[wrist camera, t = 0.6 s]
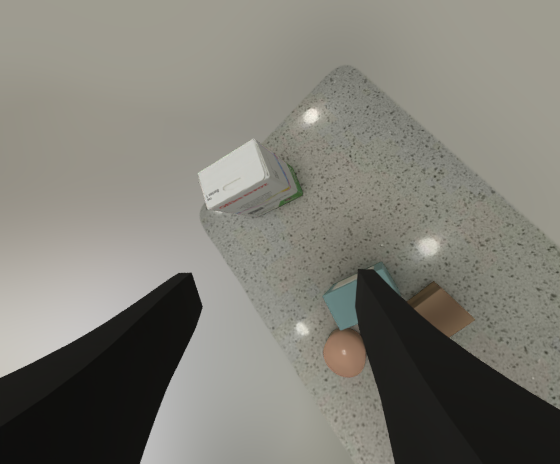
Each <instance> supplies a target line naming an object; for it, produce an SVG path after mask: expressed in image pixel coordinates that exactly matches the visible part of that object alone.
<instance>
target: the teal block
mask: <svg viewBox="0 0 560 464" xmlns="http://www.w3.org/2000/svg"><path fill="white" fill-rule="evenodd" d="M367 269H374V270H375V271H376V272H377V273H378V274H379V275H380V276H381V277H382V278H383V279H384V280H385V281H386V282H387V283H388V284H389V285H390V286H391V287H392V288H393V289H394V290H395V291H396V292H397V293H398V294H399V295H400V292H399V290H398V288H397V286H396V284H395V283H394V281H393V279H392V278H391V276H390V274H389V273H388V271H387V269H386V268H385V266H384V264H383V263H382V262H380V263H378V264H376V265H373V266H371V267H369V268H367ZM356 286H357V273H356V274H354V275H352V276H350V277H348V278H346V279H344V280H342V281H339V282H337V283H335V284H333V286H332V287H331V288H330V289H329V290H328V291H327V292H326V293H325V294H324V295H323V298H324V300H325V302H326V304H327V306H328V308H329V310H330V312H331V314H332V316H333V317H334V319H335V321H336V323H337V325H338V327H339V329H340V331H341V330H343V329H346V328H349V327H351V326H354V325H356V324H358V320H357V315H356V310H355V299H356ZM400 296H401V295H400Z"/></svg>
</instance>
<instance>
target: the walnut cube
mask: <svg viewBox="0 0 560 464" xmlns="http://www.w3.org/2000/svg"><path fill="white" fill-rule="evenodd" d="M407 303H408V304H409V305H410V306H412V307H413V308H414V309H415V310H416V311H417V312H418V313H419V314H420V315H422V316H423V317H424V318H425V319H426V320H428V321H429V322H430V323H431V324H432V325H433V326H435V327H436V328H437V329H438V330H440V331H441V332H442V333H444V334H445V335H446V336H447V337H451V336H452V335H454V334H455V333H457V332H458V331H459V330H461V329H462V328H464V327H465V326H467V325H468V324H470V323H471V322H473V321H474V320H475V319H474V318H473V317H472V316H471V315H470V314H469V313H468V312H467V311H466V310H465V309H464V308H462V307H461V306H460V305H459V304H458V303H457V302H456V301H455V300H454V299H453V298H452V297H451V296H450V295H449V294H448V293H447V292H445V291H444V290H443V289H442V288H441V287H440V286H439V285H438V284H436V283H435V282H434V281H433V282H432V283H431V284H429V285H428V286H427V287H425V288H424V289H423V290H421V291H420V292H419V293H418V294H416V295H415V296H414V297H412V298H411V299H410V300H408V301H407Z"/></svg>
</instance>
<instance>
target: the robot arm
mask: <svg viewBox="0 0 560 464" xmlns="http://www.w3.org/2000/svg"><path fill="white" fill-rule="evenodd" d="M202 307H203V306H202V303H201V300H200V297H199V294H198V291H197V288H196V285H195V281H194V278H193V275H192V273H178V274H177V275H175V276H173V277H172V278H170V279H169V280H167V281H166V282H164V283H163V284H161V285H160V286H158V287H157V288H156V289H154V290H153V291H151V292H150V293H149V294H147V295H146V296H144V297H143V298H142V299H140V300H139V301H137V302H136V303H134V304H133V305H131V306H130V307H128V308H127V309H126V310H124V311H122V312H121V313H119V314H118V315H116V316H115V317H113V318H112V319H110V320H109V321H107V322H106V323H104V324H102V325H101V326H99V327H97V328H96V329H94V330H93V331H91V332H89V333H87V334H86V335H84V336H82V337H80V338H79V339H77V340H75V341H73V342H72V343H70V344H68V345H66V346H64V347H62V348H60V349H58V350H56V351H54V352H52V353H51V354H49V355H47V356H45V357H43V358H41V359H39V360H37V361H35V362H33V363H31V364H29V365H27V366H25V367H23V368H21V369H18V370H16V371H14V372H12V373H10V374H8V375H6V376H4V377H1V378H0V464H140V461H141V459H142V455H143V452H144V449H145V446H146V443H147V441H148V438H149V435H150V432H151V429H152V426H153V423H154V421H155V418H156V415H157V413H158V410H159V407H160V405H161V402H162V400H163V397H164V394H165V392H166V389H167V387H168V385H169V383H170V380H171V378H172V376H173V374H174V372H175V370H176V368H177V366H178V364H179V362H180V360H181V358H182V356H183V353H184V351H185V349H186V347H187V345H188V343H189V341H190V339H191V337H192V335H193V333H194V331H195V328H196V326H197V322H198V320H199V317H200V314H201V310H202ZM355 310H356V315H357V320H358V325H359V330H360V333H361V337H362V340H363V343H364V346H365V349H366V353H367V356H368V359H369V362H370V365H371V368H372V371H373V375H374V378H375V381H376V384H377V387H378V391H379V395H380V398H381V402H382V406H383V411H384V415H385V420H386V424H387V429H388V433H389V438H390V443H391V447H392V452H393V457H394V461H395V464H560V410H559V409H558V408H556V407H554V406H552V405H551V404H549V403H547V402H546V401H544V400H542V399H541V398H539V397H537V396H536V395H534V394H532V393H531V392H529V391H527V390H526V389H524V388H522V387H521V386H519V385H518V384H516V383H514V382H513V381H511V380H510V379H508V378H507V377H505V376H503V375H502V374H500V373H499V372H497V371H496V370H494V369H493V368H491V367H490V366H488V365H487V364H485V363H484V362H482V361H481V360H479V359H478V358H476V357H475V356H474V355H472V354H471V353H469V352H468V351H466V350H465V349H464V348H462V347H461V346H460V345H458V344H457V343H456V342H454V341H453V340H452V339H450V338H449V337H447V336H446V335H445V334H444V333H442V332H441V331H440V330H438V329H437V328H436V327H435V326H433V325H432V324H431V323H430V322H429V321H428V320H426V319H425V318H424V317H423V316H422V315H420V314H419V313H418V312H417V311H416V310H415V309H414V308H413V307H412V306H410V305H409V304H408V303H407V302H406V301H405V300H404V299H403V298H402V297H401V296H400V295H399V294H398V293H397V292H396V291H395V290H394V289H393V288H392V287H391V286H390V285H389V284H388V283H387V282H386V281H385V280H384V279H383V278H382V277H381V276H380V275H379V274H378V273H377V272H376V271H375V270H374V269H358V273H357V286H356V299H355Z"/></svg>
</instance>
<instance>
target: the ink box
mask: <svg viewBox="0 0 560 464" xmlns="http://www.w3.org/2000/svg"><path fill="white" fill-rule="evenodd" d="M198 179H199V182H200V185H201V189H202V192H203V196H204V198H205V202H206V206H207V209H208V210H214V211H220V212H227V213H234V214H240V215H246V216H253V217H259V216H261V215H263V214H265V213H267V212H269V211H271V210H273V209H275V208H277V207H279V206H282V205H284V204H286V203H288V202H290V201H292V200H294V199H296V198H298V197H300V196H302V195H303V192H302V190H301V187H300V185H299V182H298V180H297V177H296V175H295V172H294V170H293V168H292V167H291V166H290V165H288V164H287V163H285V162H284V161H283V160H282V159H280V158H279V157H278V156H276V155H275V154H274V153H272V152H271V151H270V150H269V149H267V148H266V147H265V146H263V145H262V144H260V143H259V142H258V141H257V140H255V139H252V140H251V141H249V142H247V143H245V144H244V145H242V146H241V147H239V148H237V149H236V150H234V151H233V152H231V153H229V154H228V155H226V156H225V157H223V158H221V159H220V160H218V161H217V162H215V163H213V164H212V165H210V166H209V167H207V168H205V169H204V170H202V171H201V172H199V173H198Z"/></svg>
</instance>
